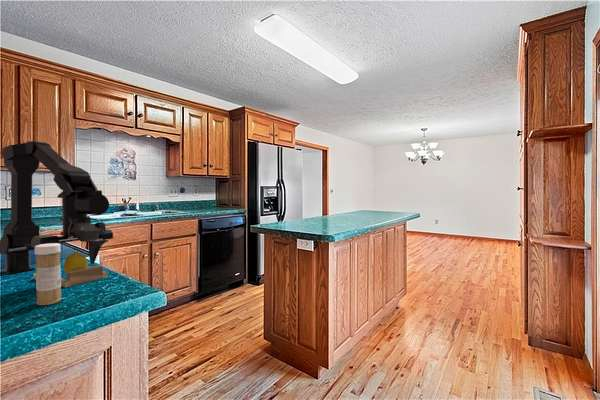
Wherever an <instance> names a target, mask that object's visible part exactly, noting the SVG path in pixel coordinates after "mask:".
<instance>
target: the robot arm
mask: <svg viewBox="0 0 600 400" xmlns="http://www.w3.org/2000/svg"><path fill="white" fill-rule="evenodd" d="M1 155H2V159H3V165H4V167H5V168H6V169H7V171H8V172H9V173H10V175H11V176H10V178H11V179H10V184H11V185H10V188H11V189H10V190H11V191H10V221H9V222H7V224H6V225H5V227H4V228H3V233H2V236H1V238H0V255H5V268H4V269H1V270H0V271H1V272H2V273H6V274H10V275H11V274H16V273H22V272H26V271H31V270H32V271H33V270H36V266H32V265H31V251H35V246H37V245H41V244H49V243H59V244H62V243H71V242H76V241H77V242H78V241H79V242H82V243H83V242H84V243H85V242H87V244H88V256H89V263H90V265H94V264H95V261H96V260H97V257H98V254H99V252H100V250H101V248H102V246H103V245H104V244H105V243H109V240H111V239H114V232H113V231H112V230H111V229H107V227H106V223H105V222H104V221H100V222H98V221H97V222H95V223H92V222H91V217H90V216H88V215H98V216H99V215H103V214H105V213H106V212H107V211H108V210H109V208H110V201H109V199H108V198H107V196H105V195H104V194H103V190H101V189H100V190H99V189H98V187H97V186H96V184H95V183H94V180H93V179H92V177H91V175H90V173H89V172H88V171H86V170H85V169H83V168H81V167H79V166H75V165H72V164H70V163H69V162H68V161H67V160H66V159H65V158H63V156H61V155H60V154H59V153H58V152H57V151H56V150H55V149H53V148H52V145H50V143H47V142H45V141H36V140H31V141H30V140H29V141H26V142H22V143H16V144H15V143H14V144H9V145H8V146H6V147H4V148H3V149H2V152H1ZM40 163H41V164H42V166H44V167H45V168H46V169H47V170H48V171H50V172H51V174H53V182H54V183H55V184H56V186H57V187H58V189H60V190H62V191H61V192H60V193H59V194H58V195H57V199H61V206H62V207H61V210H62V211H61V212H62V214H61V216H62V217H60V218H59V221H60V222H62V231H60V236H59V235H53V234H45V235H40V228H41V227H40V226H39V225H38V224H37V225H36V223H35V222H34V221H33V176H34V175H33V174H35V172H36V171H37V170H38V169H39V167H40ZM60 247H61V246H60ZM62 248H63V247H61V249H62ZM60 265H61V266H62V261H61V259H60Z"/></svg>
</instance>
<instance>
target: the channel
mask: <svg viewBox="0 0 600 400" xmlns="http://www.w3.org/2000/svg"><path fill="white" fill-rule="evenodd" d="M103 267H104V266H103V265H94V266H90V267H87V268H84V269H80V270H75V271H70V272H66V273H67V274H66V273H65V274H66V279H65V278H62V277H61V288H62V287H63V288H68V287H69V288H70V287H72V286H77V285H81V284H85V283H88V282H89V283H90V282H93V281H96V280H101V279H104V278H108V271H104V269H103ZM33 280H35V281H36V273H33Z"/></svg>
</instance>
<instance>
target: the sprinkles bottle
mask: <svg viewBox="0 0 600 400" xmlns="http://www.w3.org/2000/svg"><path fill="white" fill-rule="evenodd" d="M61 250H62V248H61V243H49V244H41V245H37V246H35V250H34V254H35V271H36V272H35V274H36V280H35V283H36V285H35V288H36V305H38V306H47V305H48V306H49V305H53V304H57V303H59V302H61V301H62V289H61V288H62V286H61V278H62V270H61V269H62V264H61V265H60V260H61V252H62V251H61Z"/></svg>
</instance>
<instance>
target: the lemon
mask: <svg viewBox="0 0 600 400" xmlns="http://www.w3.org/2000/svg"><path fill="white" fill-rule="evenodd" d="M88 265H89V263H88V259H87V258H86V256H85V255H84V254H82V253H80V252H77V251H75V252H72V253H71V254H69V255H68V256H66V258H65V260H64V263H63V270H64V274H65V275H67V273H66V272H70V271H75V270H80V269H84V268H89V267H88Z"/></svg>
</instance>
